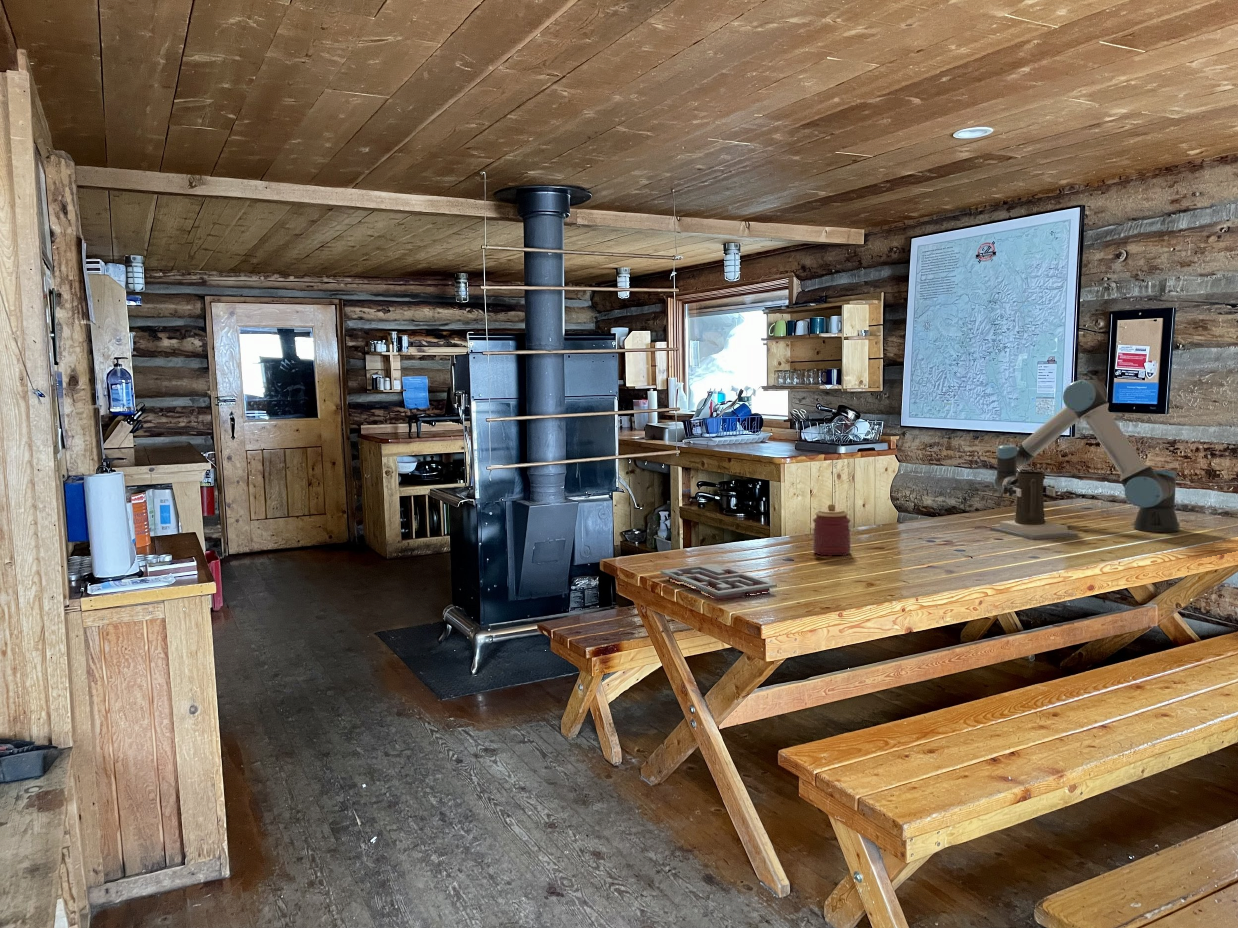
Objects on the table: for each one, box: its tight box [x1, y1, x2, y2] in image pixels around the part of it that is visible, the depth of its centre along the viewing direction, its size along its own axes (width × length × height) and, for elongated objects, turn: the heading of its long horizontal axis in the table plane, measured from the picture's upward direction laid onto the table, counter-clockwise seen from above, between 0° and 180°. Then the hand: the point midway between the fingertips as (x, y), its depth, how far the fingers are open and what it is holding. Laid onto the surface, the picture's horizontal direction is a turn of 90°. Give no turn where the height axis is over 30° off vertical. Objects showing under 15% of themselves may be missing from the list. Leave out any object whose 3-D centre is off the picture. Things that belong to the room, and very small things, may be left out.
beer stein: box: [1014, 471, 1046, 525], centre depth 341 cm, size 15×11×20 cm
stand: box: [989, 519, 1079, 540], centre depth 341 cm, size 20×24×4 cm
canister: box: [812, 503, 852, 557], centre depth 312 cm, size 13×13×18 cm
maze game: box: [659, 563, 778, 601], centre depth 268 cm, size 35×20×3 cm, turn 25°
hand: (1037, 492), depth 336 cm, fingers open, 12 cm apart
